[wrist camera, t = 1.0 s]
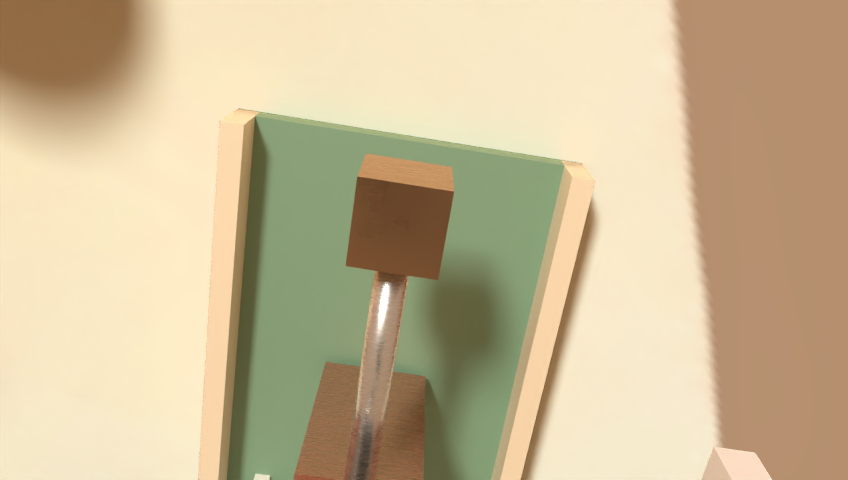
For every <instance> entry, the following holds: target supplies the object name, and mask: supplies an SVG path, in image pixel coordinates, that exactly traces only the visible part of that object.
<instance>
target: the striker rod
mask: <svg viewBox="0 0 848 480" xmlns="http://www.w3.org/2000/svg"><path fill="white" fill-rule="evenodd" d="M453 196H454V183H453V172H452V167H449V166H443V165H436V164H430V163H424V162H417V161H411V160H405V159H398V158H392V157H386V156H379V155H373V154H367V153H366V155H365V157H364V160H363V163H362V165H361V168H360V170H359V173H358V176H357V182H356V190H355V197H354V205H353V213H352V220H351V228H350V236H349V243H348V251H347V258H346V266H347V267H354V268H360V269H367V270H373V271H374V277H373V283H372V290H371V297H370V304H369V311H368V318H367V324H366V331H365V338H364V345H363V352H362V358H361V365H360V367H359V366H352V365H345V364H338V363H331V362H325V366H324V370H323V373H322V377H321V380H320V384H319V387H318V391H317V395H316V398H315V402H314V405H313V409H312V413H311V416H310V420H309V423H308V427H307V430H306V434H305V438H304V441H303V445H302V448H301V452H300V456H299V459H298V463H297V466H296V470H295V474H294V480H423V479H424V430H425V382H426V376H421V375H414V374H407V373H400V372H393V370H394V364H395V358H396V352H397V346H398V340H399V334H400V328H401V321H402V315H403V309H404V303H405V297H406V291H407V285H408V279H409V276H413V277H420V278H426V279H433V280H438V279H439V273H440V268H441V262H442V257H443V251H444V246H445V240H446V235H447V229H448V224H449V218H450V213H451V207H452V202H453Z"/></svg>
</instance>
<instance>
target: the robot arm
mask: <svg viewBox="0 0 848 480" xmlns="http://www.w3.org/2000/svg"><path fill="white" fill-rule="evenodd" d="M702 480H772V479H771V478H770V476H769V474H768V473H767V471H766V469H765V468H764V466H763V465H762V463H761V461H760V460H759V458H758V457H757V455H756V453H754V452H747V451H739V450H732V449H725V448H718V447H714V448H713V450H712V453H711V456H710V458H709V461H708V464H707V466H706V469H705V472H704V474H703V477H702Z"/></svg>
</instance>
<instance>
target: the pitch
mask: <svg viewBox="0 0 848 480" xmlns="http://www.w3.org/2000/svg"><path fill="white" fill-rule="evenodd" d="M366 153H367V154H373V155H379V156H386V157H392V158H398V159H405V160H411V161H417V162H424V163H430V164H436V165H443V166H449V167H452V172H453V183H454V196H453V202H452V207H451V213H450V218H449V224H448V229H447V235H446V240H445V246H444V251H443V257H442V262H441V268H440V273H439V279H438V280H433V279H426V278H420V277H413V276H409V279H408V285H407V291H406V297H405V303H404V309H403V315H402V321H401V328H400V334H399V340H398V346H397V352H396V358H395V364H394V370H393V372H400V373H407V374H414V375H421V376H426V382H425V430H424V479H423V480H521V476H522V472H523V468H524V464H525V460H526V456H527V452H528V448H529V444H530V440H531V436H532V432H533V428H534V424H535V420H536V416H537V412H538V408H539V404H540V400H541V396H542V392H543V388H544V384H545V380H546V376H547V372H548V368H549V364H550V360H551V356H552V352H553V348H554V344H555V340H556V336H557V332H558V328H559V324H560V320H561V316H562V312H563V308H564V304H565V300H566V296H567V292H568V288H569V284H570V280H571V276H572V272H573V268H574V264H575V260H576V256H577V252H578V248H579V244H580V240H581V236H582V232H583V228H584V224H585V221H586V217H587V213H588V209H589V205H590V201H591V197H592V193H593V189H594V185H595V180H594V178H593V177H592V176H591V175H590V173H589V172H588V171H587V169H586V168H585V167H584V166H583V164H582V163H576V162H569V161H563V160H557V159H551V158H544V157H538V156H532V155H526V154H519V153H513V152H507V151H501V150H494V149H488V148H482V147H476V146H469V145H463V144H457V143H451V142H444V141H438V140H432V139H426V138H419V137H413V136H407V135H401V134H394V133H388V132H382V131H376V130H369V129H363V128H357V127H351V126H344V125H338V124H332V123H326V122H319V121H313V120H307V119H301V118H294V117H288V116H282V115H276V114H269V113H263V112H257V111H251V110H244V109H237V110H235V111H234V112H232V113H231V114H230V115H228V116H227V117H225V118H224V119H222V120H221V121H220V127H219V144H218V160H217V176H216V193H215V209H214V226H213V242H212V259H211V275H210V292H209V308H208V325H207V341H206V358H205V374H204V391H203V407H202V424H201V440H200V457H199V473H198V480H294V474H295V470H296V466H297V463H298V459H299V456H300V452H301V448H302V445H303V441H304V438H305V434H306V430H307V427H308V423H309V420H310V416H311V413H312V409H313V405H314V402H315V398H316V395H317V391H318V387H319V384H320V380H321V377H322V373H323V370H324V366H325V362H331V363H338V364H345V365H352V366H359V367H360V365H361V358H362V352H363V345H364V338H365V331H366V324H367V318H368V311H369V304H370V297H371V290H372V283H373V277H374V271H373V270H367V269H360V268H354V267H347V266H346V258H347V251H348V243H349V236H350V228H351V220H352V213H353V205H354V197H355V190H356V182H357V176H358V173H359V170H360V168H361V165H362V163H363V160H364V157H365V155H366Z"/></svg>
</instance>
